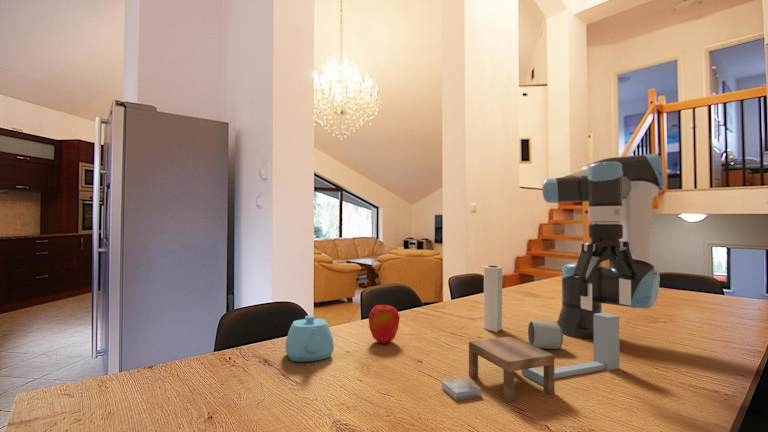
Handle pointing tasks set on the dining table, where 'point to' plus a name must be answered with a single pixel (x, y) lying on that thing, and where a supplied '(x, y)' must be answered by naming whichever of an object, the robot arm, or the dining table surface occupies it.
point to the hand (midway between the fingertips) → (606, 306)
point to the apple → (383, 323)
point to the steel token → (461, 389)
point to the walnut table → (511, 360)
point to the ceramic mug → (545, 335)
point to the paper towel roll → (493, 298)
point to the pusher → (603, 351)
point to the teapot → (309, 340)
